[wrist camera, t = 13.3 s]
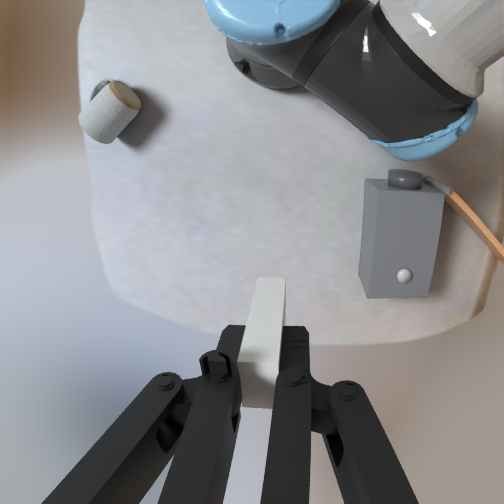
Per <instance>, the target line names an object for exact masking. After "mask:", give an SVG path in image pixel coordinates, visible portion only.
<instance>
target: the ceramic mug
mask: <svg viewBox="0 0 504 504" xmlns="http://www.w3.org/2000/svg"><path fill="white" fill-rule="evenodd" d="M140 109H141V101H140V99H139V98H138V96H137V95H136V94H135V92H133V91H132V90H131V89H130V88H129V87H128V86H126V85H125V84H123V83H122V82H119V81H115V80H113V79H110V78H105V79H103V80H102V81H100V82H99V83H98V84H97V85H96V86H95V88H94V89H93V91H92V93H91V95H90V101H89V104H88V105H87V106H86V107H85V108H84V109H83V110H82V111H81V113H80V114H79V123H80V125H81V127H82V128H83V130H84V131H85V132H86V133H87V134H88V135H89V136H90V137H91V138H93V139H94V140H96V141H98V142H100V143H104V144H109V143H112V142H113V141H114V140H115V138H116V137H117V136H118V135H119V134H120V133H121V132H122V130H123V129H124V128H125V127H126V126H127V125H128V124H129V122H130V121H131V120H132V119H133V118H134V117H135V116H136V115H137V114H138V112H139V111H140Z"/></svg>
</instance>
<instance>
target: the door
mask: <svg viewBox="0 0 504 504" xmlns="http://www.w3.org/2000/svg"><path fill="white" fill-rule="evenodd" d="M425 182H426V183H427V184H429V185H430V186H432V187H434V188H436V189H437V190H439V191H441V192H443V193H445V197H444V200H445V201H446V202H447V203H448V204H449V205H450V206H451V207H452V208H453V209H454V210H455V211H456V212H457V213H458V214H459V215H460V216H461V217H462V218H463V219H464V220H465V222H466V223H467V224H468V225H469V226H470V227H471V228H472V229H473V230H474V231H475V232H476V234H477V235H478V236H479V237H480V238H481V239H482V240H483V242H484V243H485V244H486V245H487V246H488V247H489V249H490V250H491V251H492V252H493V253H494V255H495V256H496V257H497V258H498V259H499V260H500V261H501V262H502V263H503V264H504V248H503V247H502V245H501V244H500V243H499V242H498V240H497V239H496V238H495V237H494V235H493V234H492V233H491V232H490V230H489V229H488V228H487V227H486V226H485V224H484V223H483V222H482V221H481V220H480V219H479V217H478V216H477V215H476V214H475V213H474V212H473V211H472V210H471V208H470V207H469V206H468V205H467V204H466V203H465V202H464V201H463V200H462V199H461V198H460V197H459V195H458V194H457V193H456V192H455V191H454V190H453V188H451V187H450V186H448V185H446V184H444V183H442V182H440V181H438V180H436V179H433V178H431V177H429V176H427V177H426V178H425Z"/></svg>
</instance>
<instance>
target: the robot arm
mask: <svg viewBox="0 0 504 504" xmlns="http://www.w3.org/2000/svg"><path fill="white" fill-rule="evenodd" d="M204 2H205V6H206V9H207V11H208V13H209V16H210V19H211V20H212V22H213V24H214V25H215V26H216V28H217V30H219V31H221V32H222V34H223V35H225V36H226V37H227V38H226V42H227V49H228V53H229V56H230V58H231V60H232V62H233V64H234V65H235V66H236V68H237V69H238V70H239V71H240V72H241V73H242V74H243V75H244V76H245V77H247V78H248V79H249V80H251V81H253V82H255V83H256V84H259V85H261V86H264V87H268V88H273V89H290V88H295V87H299V86H303V87H304V88H306V89H307V90H308V91H310V92H311V93H313V94H314V95H315V96H317V97H318V98H320V99H321V100H322V101H324V102H325V103H326V104H328V105H329V106H330V107H331V108H333V109H334V110H335V111H337V112H338V113H339V114H341V115H342V116H343V117H344V118H346V119H347V120H348V121H349V122H351V123H352V124H353V125H354V126H355V127H357V128H358V129H359V130H360V131H361V132H363V133H364V134H365V136H366V137H367V138H368V139H369V140H371V141H372V142H374V143H376V144H378V145H380V146H381V147H382V148H384V149H385V150H386V151H387V152H389V153H390V154H391V155H392V156H394V157H396V158H398V159H401V160H406V161H417V160H422V159H426V158H429V157H432V156H434V155H436V154H438V153H440V152H442V151H444V150H446V149H447V148H449V147H450V146H451V145H453V144H454V143H455V142H456V141H458V138H457V137H458V135H460V134H462V133H466V132H467V130H468V129H469V128H470V127H471V125H472V124H473V122H474V120H475V118H476V115H477V111H478V102H477V99H476V98H477V97H479V96H480V95H481V94H482V93H483V92H484V72H485V69H486V68H488V67H489V66H490V65H492V64H493V63H495V62H496V61H497V60H499V59H500V58H502V57H503V56H504V0H379V1H378V2H377V4H376V5H375V4H373V3H372V2H370V1H369V0H204ZM285 308H286V278H257V282H256V286H255V291H254V295H253V299H252V303H251V307H250V311H249V315H248V320H247V324H246V326H245V325H228V326H227V327H226V328H225V329H224V330H223V331H222V334H221V337H220V340H219V343H218V346H217V349H216V350H212V351H209V352H207V353H205V354H203V355H202V356H201V358H200V359H199V361H200V366H201V370H202V376H199V377H197V378H192V379H185V380H182V379H181V378H180V376H179V375H177V374H175V373H171V372H165V373H161V374H158V375H156V376H155V377H154V378H152V380H151V381H150V382H149V383H148V384H147V385H146V386H145V388H144V389H143V390H142V391H141V392H140V393H139V394H138V396H137V397H136V398H135V399H134V400H133V401H132V402H131V404H130V405H129V406H128V407H127V408H126V409H125V411H123V413H122V414H121V415H120V416H119V417H118V418H117V420H116V421H115V422H114V423H113V424H112V425H111V426H110V427H109V429H108V430H107V431H106V432H105V433H104V434H103V435H102V436H101V437H100V439H99V440H98V441H97V442H96V443H95V444H94V445H93V447H92V448H91V449H90V450H89V451H88V452H87V453H86V455H85V456H84V457H83V458H82V459H81V460H80V461H79V462H78V463H77V464H76V466H75V467H74V468H73V469H72V470H71V471H70V472H69V474H68V475H67V476H66V477H65V478H64V479H63V480H62V481H61V483H59V485H58V486H57V487H56V488H55V489H54V490H53V491H52V492H51V494H50V495H49V496H48V497H47V498H46V499H45V500H44V501H43V502H42V504H139V503H140V501H141V500H142V499H143V497H144V496H145V494H146V493H147V492H148V490H149V489H150V488H151V486H152V485H153V484H154V482H155V481H156V479H157V478H158V476H159V475H160V474H161V472H162V471H163V469H164V468H165V466H166V465H167V464H168V462H169V461H170V459H171V458H172V456H173V455H174V457H173V460H172V463H171V466H170V469H169V472H168V475H167V477H166V480H165V483H164V486H163V489H162V492H161V495H160V498H159V501H158V504H223V500H224V495H225V490H226V485H227V481H228V477H229V472H230V467H231V462H232V458H233V453H234V448H235V443H236V438H237V433H238V428H239V423H240V418H241V415H240V406H241V402H242V406H243V407H251V408H268V409H273V411H272V420H271V428H270V436H269V444H268V452H267V460H266V467H265V474H264V482H263V488H262V496H261V502H260V504H309V490H310V489H309V487H310V461H311V431H313V432H317V433H320V434H322V436H323V439H324V442H325V445H326V448H327V452H328V455H329V458H330V461H331V464H332V467H333V470H334V473H335V476H336V479H337V482H338V485H339V488H340V491H341V494H342V497H343V500H344V504H419V503H418V501H417V499H416V496H415V494H414V492H413V490H412V488H411V485H410V483H409V481H408V479H407V477H406V475H405V473H404V471H403V468H402V467H401V464H400V462H399V460H398V458H397V456H396V454H395V452H394V450H393V447H392V445H391V443H390V441H389V439H388V437H387V435H386V433H385V431H384V429H383V427H382V425H381V423H380V421H379V419H378V417H377V415H376V413H375V411H374V409H373V407H372V405H371V403H370V401H369V399H368V397H367V395H366V393H365V391H364V389H363V388H362V387H361V385H359V384H358V383H356V382H353V381H348V380H347V381H340V382H337V383H335V384H334V385H333V386H329V385H324V384H322V383H319V382H317V381H316V380H315V379H314V378H313V377H312V376H311V374H310V355H309V332H308V331H307V330H306V328H305V327H304V326H285Z"/></svg>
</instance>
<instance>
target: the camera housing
mask: <svg viewBox="0 0 504 504" xmlns="http://www.w3.org/2000/svg"><path fill="white" fill-rule="evenodd" d="M444 197H445V193H443V192H441V191H439V190H437V189H436V188H434V187H432V186H430V185H428V184H427V183H425V182H422V174H421V173H419V172H415V171H410V170H401V169H390V170H388V180H384V179H365V192H364V212H363V227H362V240H361V252H360V263H359V272H358V274H359V277H360V279H361V282H362V285H363V288H364V291H365V293H366V296H367V299H371V298H411V297H428V292H429V288H430V284H431V279H432V274H433V269H434V264H435V259H436V253H437V248H438V242H439V235H440V229H441V222H442V214H443V206H444Z"/></svg>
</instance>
